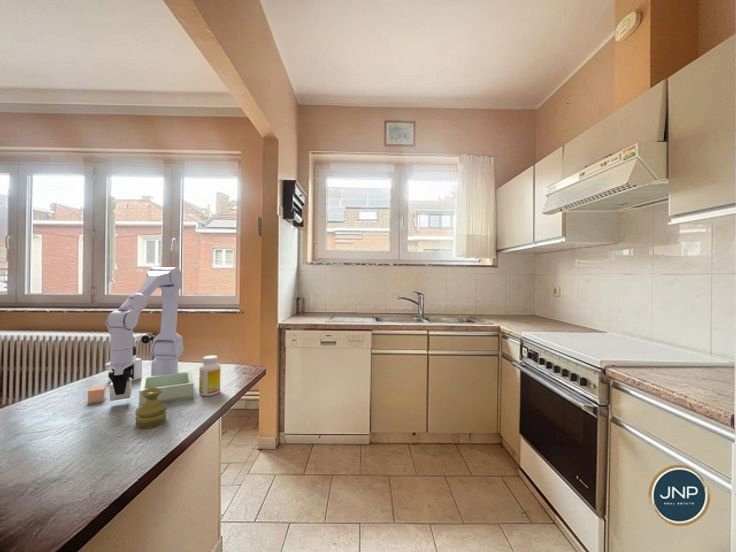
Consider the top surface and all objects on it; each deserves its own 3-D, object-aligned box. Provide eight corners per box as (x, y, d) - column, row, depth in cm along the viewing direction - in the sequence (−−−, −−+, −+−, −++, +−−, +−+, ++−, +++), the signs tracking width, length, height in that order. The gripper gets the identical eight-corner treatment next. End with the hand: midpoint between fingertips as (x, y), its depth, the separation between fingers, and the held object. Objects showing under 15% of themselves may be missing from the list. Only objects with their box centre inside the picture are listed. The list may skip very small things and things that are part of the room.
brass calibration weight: (132, 431, 87) (133, 394, 87) (137, 420, 94) (138, 385, 94) (165, 426, 90) (166, 390, 90) (167, 415, 97) (168, 381, 97)
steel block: (111, 395, 105) (112, 380, 105) (131, 393, 107) (131, 377, 107) (109, 401, 100) (109, 384, 100) (129, 398, 103) (130, 382, 103)
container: (142, 378, 130) (142, 345, 129) (121, 384, 122) (122, 349, 122) (128, 375, 132) (129, 343, 132) (107, 381, 125) (108, 347, 125)
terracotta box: (90, 399, 108) (90, 387, 108) (105, 397, 110) (105, 385, 110) (87, 403, 104) (88, 391, 104) (103, 401, 106) (104, 389, 106)
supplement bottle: (223, 390, 118) (224, 355, 118) (213, 397, 112) (214, 359, 112) (206, 389, 119) (207, 354, 119) (194, 396, 112) (195, 358, 112)
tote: (142, 391, 115) (142, 377, 115) (190, 384, 123) (190, 371, 123) (139, 406, 103) (139, 390, 103) (193, 398, 111) (193, 383, 110)
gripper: (109, 345, 108) (108, 386, 108) (101, 355, 95) (101, 401, 96) (135, 343, 111) (134, 383, 112) (131, 352, 99) (130, 397, 99)
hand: (121, 391), depth 104 cm, fingers closed on steel block, 5 cm apart
